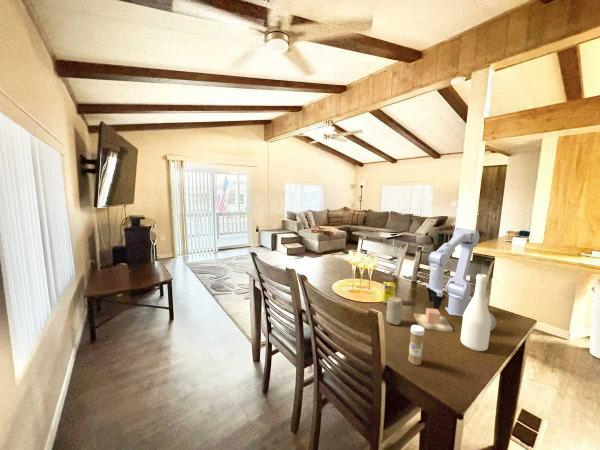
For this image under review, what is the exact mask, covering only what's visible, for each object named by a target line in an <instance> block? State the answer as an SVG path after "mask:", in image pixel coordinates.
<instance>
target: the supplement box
mask: <svg viewBox="0 0 600 450" xmlns="http://www.w3.org/2000/svg"><path fill="white" fill-rule="evenodd" d="M382 285H383V287H382V303H383V305H387V303H388V299H389V298H390V297H396V288H397V286H396V283H395V282H391V281H390V282H388V281H383V284H382Z"/></svg>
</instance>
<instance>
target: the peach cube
mask: <svg viewBox="0 0 600 450" xmlns="http://www.w3.org/2000/svg"><path fill="white" fill-rule="evenodd" d="M425 315H426V316H425V318H426V320H427V322H428V323H434V324H440V316H441V312H440V311H439V309H434V308H429V307H428V308H427V307H426V308H425Z"/></svg>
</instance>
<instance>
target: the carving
mask: <svg viewBox="0 0 600 450" xmlns="http://www.w3.org/2000/svg"><path fill="white" fill-rule="evenodd" d="M403 305H404V304H403V300H402V299H401V298H400V297H398V296H395V297H390V298H389V299H388V303H387V304H386V308H387V309H386V311H385V313H386V316H385V319H386V322H387V323H389V324H392V325H396V326H398V325H401V321H402V318H403V317H402V316H403Z"/></svg>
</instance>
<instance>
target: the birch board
mask: <svg viewBox="0 0 600 450" xmlns="http://www.w3.org/2000/svg"><path fill="white" fill-rule="evenodd" d="M413 316H414V319H415V321H416V323H417V324H416V325H419V326H421V327H423V328H424V330H425V329H426V330H433V331H444V332H452V333H453V332H454V329H453V327H452V326H451V324H450V323H449V322H448V320H447V319H446V317H445V316H442V315H440V324H434V323H428V322H427V320H426V318H425V316H426V314H422V313H413Z"/></svg>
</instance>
